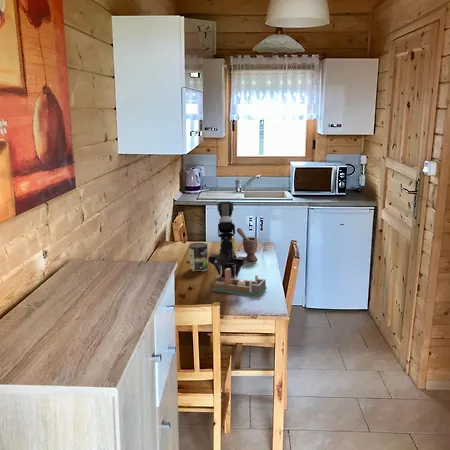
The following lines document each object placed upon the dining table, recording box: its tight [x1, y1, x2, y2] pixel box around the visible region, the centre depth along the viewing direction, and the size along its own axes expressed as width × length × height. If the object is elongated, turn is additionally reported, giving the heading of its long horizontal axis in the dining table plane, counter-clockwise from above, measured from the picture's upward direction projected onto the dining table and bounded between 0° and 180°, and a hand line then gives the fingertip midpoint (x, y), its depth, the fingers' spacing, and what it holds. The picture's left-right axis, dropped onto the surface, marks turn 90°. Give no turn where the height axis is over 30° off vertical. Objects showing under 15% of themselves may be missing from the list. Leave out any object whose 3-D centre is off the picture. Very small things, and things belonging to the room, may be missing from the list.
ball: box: [237, 279, 245, 286], centre depth 240 cm, size 4×4×4 cm
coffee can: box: [188, 242, 209, 272], centre depth 274 cm, size 10×10×14 cm
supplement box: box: [232, 236, 236, 255], centre depth 299 cm, size 6×6×11 cm
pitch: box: [212, 274, 267, 297], centre depth 240 cm, size 24×11×7 cm, turn 66°
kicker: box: [214, 268, 234, 285], centre depth 244 cm, size 8×6×9 cm
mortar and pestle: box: [236, 227, 258, 263], centre depth 284 cm, size 12×9×20 cm
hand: (228, 276), depth 242 cm, fingers open, 9 cm apart
